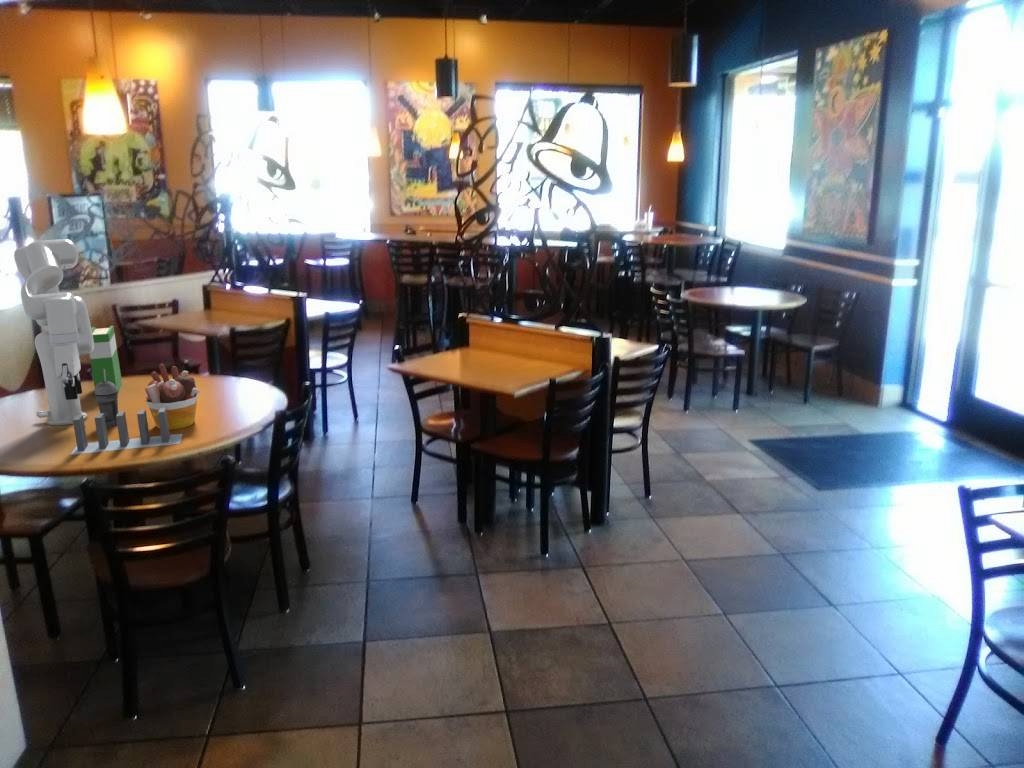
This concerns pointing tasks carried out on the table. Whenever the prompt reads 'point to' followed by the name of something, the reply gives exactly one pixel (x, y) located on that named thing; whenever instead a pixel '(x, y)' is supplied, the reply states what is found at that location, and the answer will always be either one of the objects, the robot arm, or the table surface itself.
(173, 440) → the mat
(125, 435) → the domino
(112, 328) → the green tall box
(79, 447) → the domino
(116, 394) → the beverage cup
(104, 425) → the domino
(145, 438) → the domino
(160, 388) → the bucket of meat
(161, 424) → the domino
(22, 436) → the table surface
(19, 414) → the table surface
